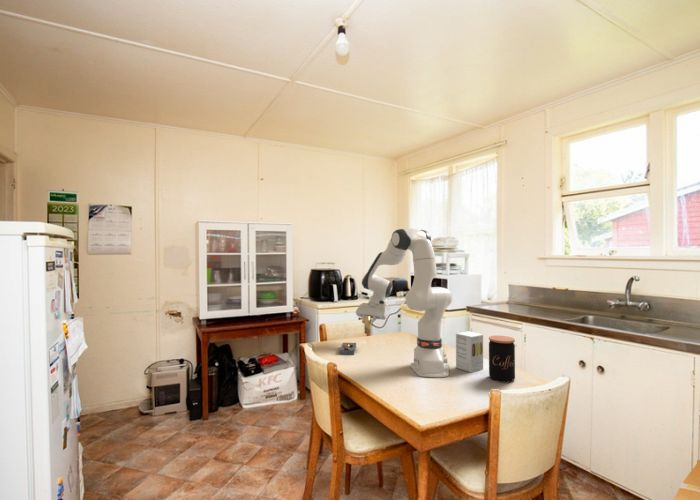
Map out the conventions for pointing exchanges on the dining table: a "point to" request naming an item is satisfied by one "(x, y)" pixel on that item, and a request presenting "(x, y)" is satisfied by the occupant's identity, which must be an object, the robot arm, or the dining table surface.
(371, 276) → the robot arm
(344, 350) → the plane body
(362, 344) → the dining table surface
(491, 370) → the coffee jar
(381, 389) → the dining table surface
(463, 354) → the supplement box
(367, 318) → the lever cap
